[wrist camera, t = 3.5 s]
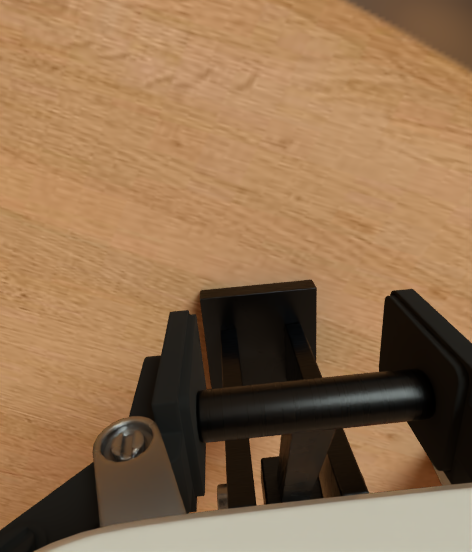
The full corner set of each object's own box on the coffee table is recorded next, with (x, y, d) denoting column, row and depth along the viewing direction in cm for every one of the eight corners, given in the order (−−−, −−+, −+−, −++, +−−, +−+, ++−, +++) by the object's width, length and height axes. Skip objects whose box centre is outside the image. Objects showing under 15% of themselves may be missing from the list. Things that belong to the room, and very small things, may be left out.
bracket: (200, 290, 24) (190, 464, 13) (312, 279, 24) (404, 441, 13) (214, 402, 28) (218, 617, 16) (311, 392, 28) (383, 598, 16)
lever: (194, 359, 10) (196, 461, 8) (411, 338, 10) (456, 433, 8) (225, 480, 18) (228, 543, 16) (343, 468, 18) (358, 528, 16)
